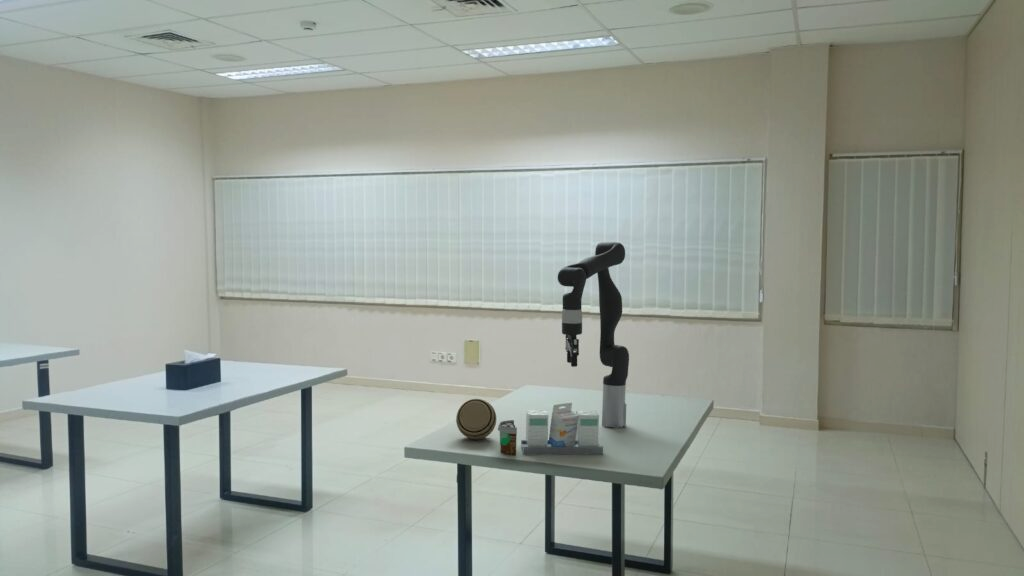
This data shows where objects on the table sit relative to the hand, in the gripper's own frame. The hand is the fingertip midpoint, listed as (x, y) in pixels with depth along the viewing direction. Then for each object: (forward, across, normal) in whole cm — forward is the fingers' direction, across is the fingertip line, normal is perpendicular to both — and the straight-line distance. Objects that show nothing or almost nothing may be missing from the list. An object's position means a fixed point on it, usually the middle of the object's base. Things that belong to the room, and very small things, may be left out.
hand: (572, 364), depth 275 cm
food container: (+28, -15, +26) cm, 41 cm away
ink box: (+26, -14, +6) cm, 30 cm away
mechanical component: (+28, +3, +36) cm, 46 cm away
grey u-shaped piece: (+28, -14, +6) cm, 32 cm away
